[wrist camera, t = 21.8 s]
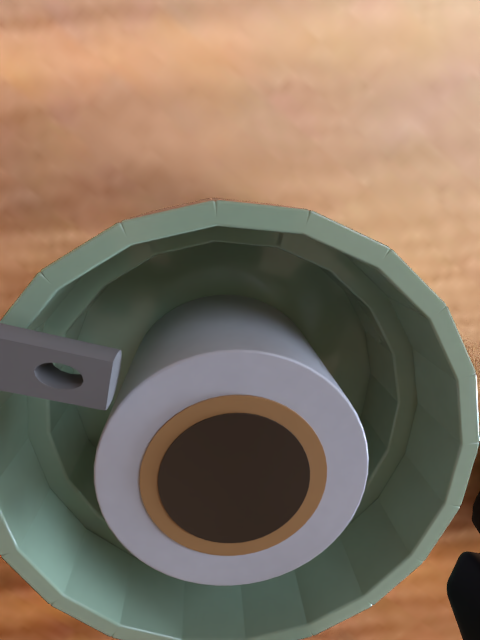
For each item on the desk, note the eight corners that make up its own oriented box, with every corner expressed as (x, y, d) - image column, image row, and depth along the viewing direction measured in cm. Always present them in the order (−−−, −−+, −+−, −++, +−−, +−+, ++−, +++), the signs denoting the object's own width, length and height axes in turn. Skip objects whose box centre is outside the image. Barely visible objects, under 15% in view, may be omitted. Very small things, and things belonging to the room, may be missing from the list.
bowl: (301, 553, 17) (338, 691, 12) (2, 464, 15) (-92, 592, 10) (454, 288, 14) (576, 335, 10) (115, 131, 12) (58, 90, 7)
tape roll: (268, 483, 16) (297, 615, 11) (105, 429, 14) (54, 550, 10) (346, 335, 14) (421, 410, 9) (171, 263, 13) (152, 305, 8)
